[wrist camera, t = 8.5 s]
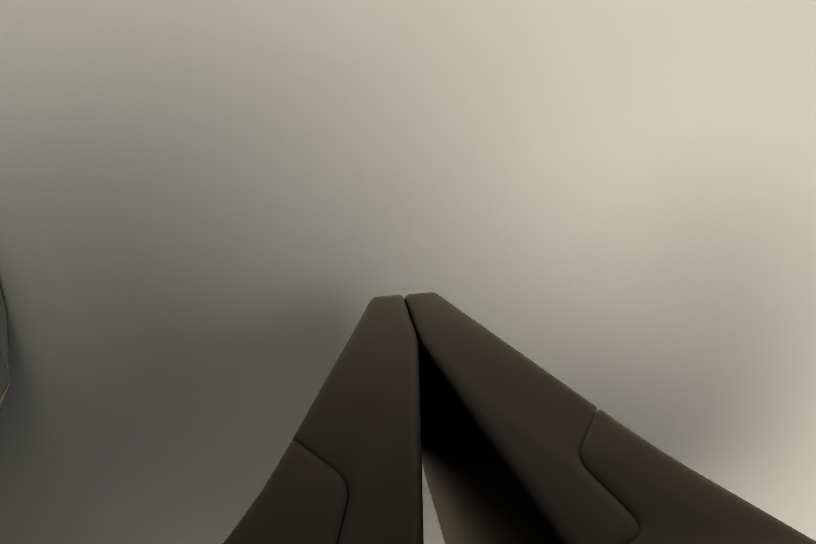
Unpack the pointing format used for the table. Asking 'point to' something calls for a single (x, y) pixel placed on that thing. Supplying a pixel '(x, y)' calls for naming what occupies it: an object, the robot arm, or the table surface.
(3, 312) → the pot
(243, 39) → the table surface
